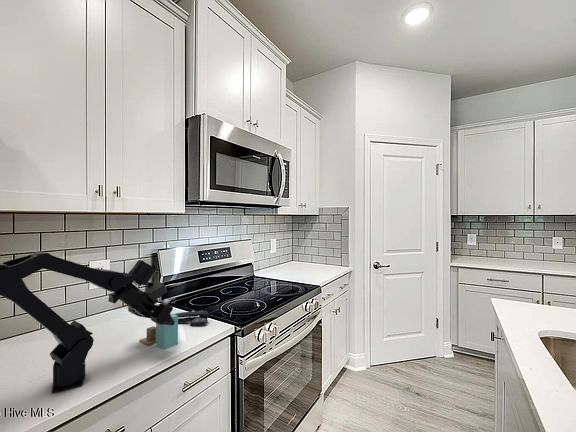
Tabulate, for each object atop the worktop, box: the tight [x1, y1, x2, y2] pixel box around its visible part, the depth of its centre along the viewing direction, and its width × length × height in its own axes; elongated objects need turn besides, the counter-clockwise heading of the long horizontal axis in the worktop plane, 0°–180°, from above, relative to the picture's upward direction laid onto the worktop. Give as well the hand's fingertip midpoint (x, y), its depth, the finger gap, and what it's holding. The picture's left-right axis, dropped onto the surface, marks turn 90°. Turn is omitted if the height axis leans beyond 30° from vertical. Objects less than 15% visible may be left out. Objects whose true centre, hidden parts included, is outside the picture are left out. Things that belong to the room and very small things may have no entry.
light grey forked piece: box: [155, 298, 170, 305], centre depth 130 cm, size 7×2×8 cm, turn 80°
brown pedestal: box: [138, 326, 156, 347], centre depth 105 cm, size 6×6×5 cm
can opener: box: [174, 310, 209, 327], centre depth 122 cm, size 18×7×6 cm, turn 87°
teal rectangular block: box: [155, 312, 179, 350], centre depth 102 cm, size 5×5×10 cm
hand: (166, 321), depth 102 cm, fingers open, 9 cm apart
